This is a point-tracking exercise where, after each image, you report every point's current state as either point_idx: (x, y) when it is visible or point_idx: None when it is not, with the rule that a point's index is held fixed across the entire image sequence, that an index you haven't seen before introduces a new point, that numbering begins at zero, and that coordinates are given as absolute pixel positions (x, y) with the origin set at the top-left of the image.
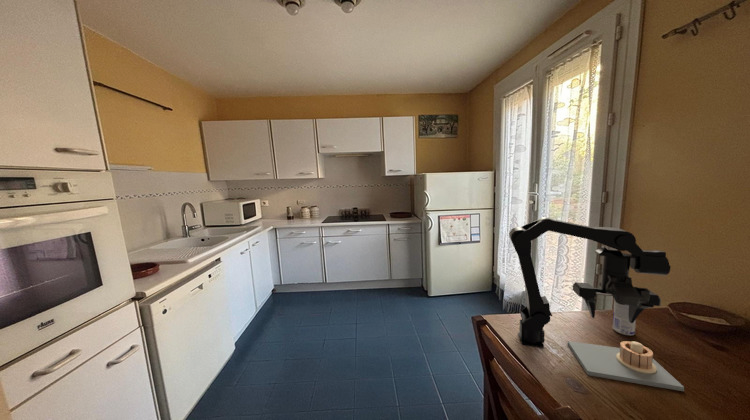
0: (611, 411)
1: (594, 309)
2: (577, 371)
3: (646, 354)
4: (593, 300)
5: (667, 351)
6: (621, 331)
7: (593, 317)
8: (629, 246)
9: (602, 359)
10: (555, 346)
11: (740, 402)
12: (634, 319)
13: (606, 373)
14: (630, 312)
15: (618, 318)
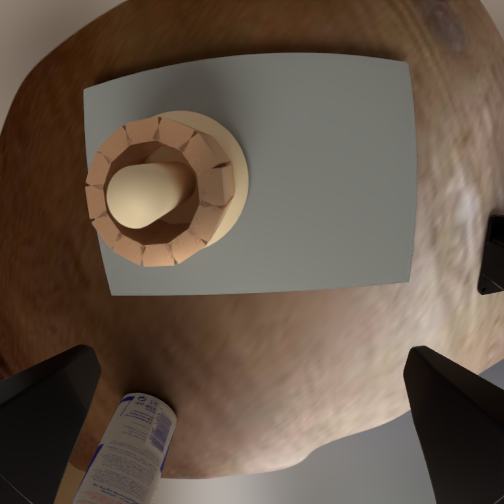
0: None
1: (486, 407)
2: (427, 83)
3: (122, 143)
4: None
5: (62, 327)
6: (156, 404)
7: (422, 348)
8: None
9: (319, 163)
10: (451, 241)
11: (6, 124)
12: (50, 362)
13: (342, 57)
14: (55, 435)
15: (152, 447)
